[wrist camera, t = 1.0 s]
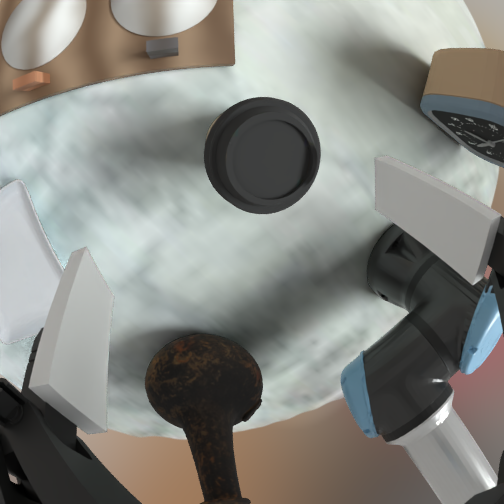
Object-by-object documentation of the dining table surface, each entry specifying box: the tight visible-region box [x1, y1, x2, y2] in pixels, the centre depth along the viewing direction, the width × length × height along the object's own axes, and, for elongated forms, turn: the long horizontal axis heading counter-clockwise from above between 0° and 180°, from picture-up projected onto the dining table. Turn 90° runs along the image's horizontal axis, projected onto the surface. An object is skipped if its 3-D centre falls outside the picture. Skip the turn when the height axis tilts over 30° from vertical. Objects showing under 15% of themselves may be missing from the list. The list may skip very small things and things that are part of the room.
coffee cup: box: [204, 97, 321, 214], centre depth 26 cm, size 9×9×15 cm
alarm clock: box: [420, 48, 504, 168], centre depth 26 cm, size 21×10×22 cm, turn 72°
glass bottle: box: [145, 334, 263, 504], centre depth 34 cm, size 18×18×28 cm
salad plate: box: [0, 179, 64, 345], centre depth 30 cm, size 21×21×3 cm
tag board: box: [0, 0, 235, 116], centre depth 19 cm, size 30×18×6 cm, turn 92°
